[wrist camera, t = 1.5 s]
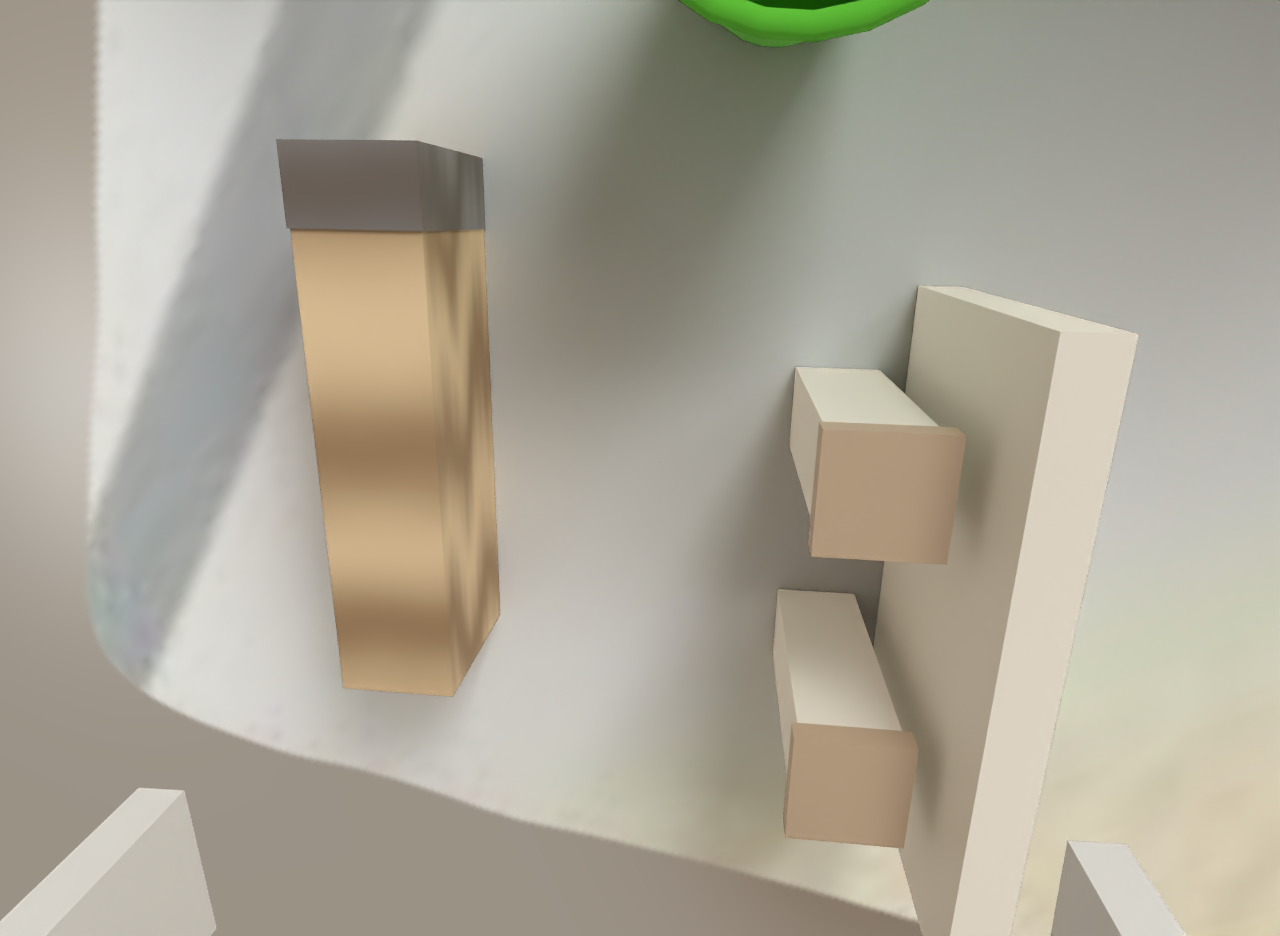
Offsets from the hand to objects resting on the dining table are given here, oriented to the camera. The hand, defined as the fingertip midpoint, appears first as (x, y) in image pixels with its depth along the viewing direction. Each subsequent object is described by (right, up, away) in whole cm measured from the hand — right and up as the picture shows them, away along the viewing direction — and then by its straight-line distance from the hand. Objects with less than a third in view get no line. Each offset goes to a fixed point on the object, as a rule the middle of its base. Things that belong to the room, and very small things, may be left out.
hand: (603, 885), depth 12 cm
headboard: (+9, +4, +18) cm, 21 cm away
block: (-7, +9, +19) cm, 22 cm away
